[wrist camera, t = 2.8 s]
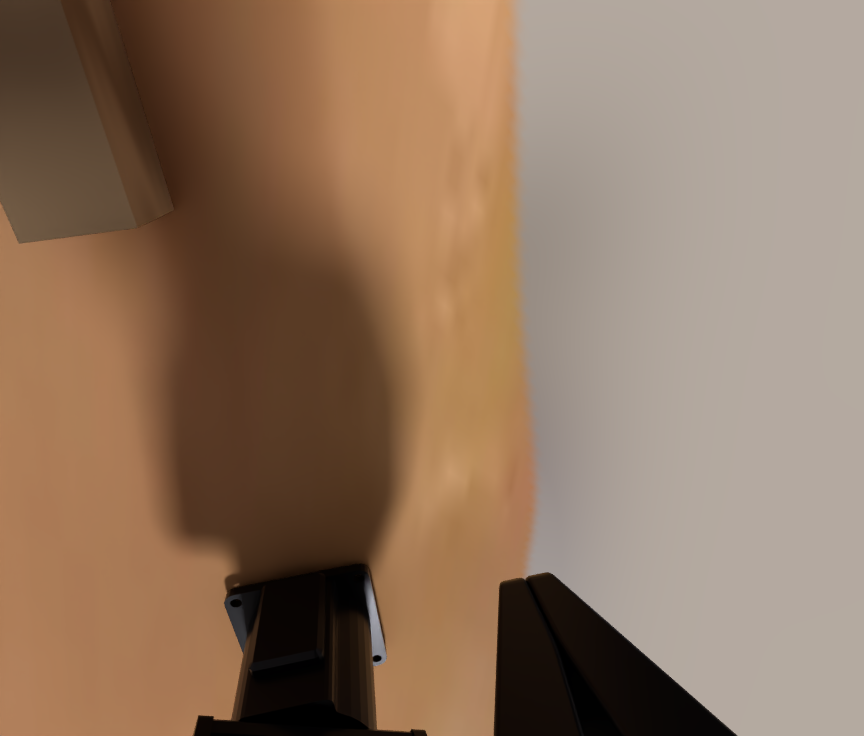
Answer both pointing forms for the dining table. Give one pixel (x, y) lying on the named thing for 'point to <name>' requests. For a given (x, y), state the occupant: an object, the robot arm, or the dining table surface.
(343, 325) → the dining table surface
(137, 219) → the t block
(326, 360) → the dining table surface
